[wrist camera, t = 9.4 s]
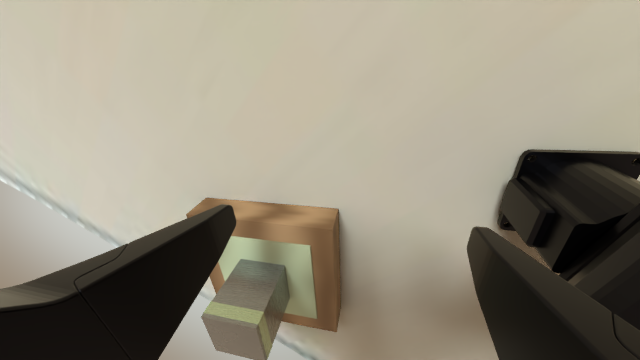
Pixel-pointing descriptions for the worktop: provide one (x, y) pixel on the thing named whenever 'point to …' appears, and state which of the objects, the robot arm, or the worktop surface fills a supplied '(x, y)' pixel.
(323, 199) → the worktop surface
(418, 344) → the worktop surface
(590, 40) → the worktop surface
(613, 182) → the robot arm
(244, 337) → the grey box
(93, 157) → the worktop surface
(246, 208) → the platform
